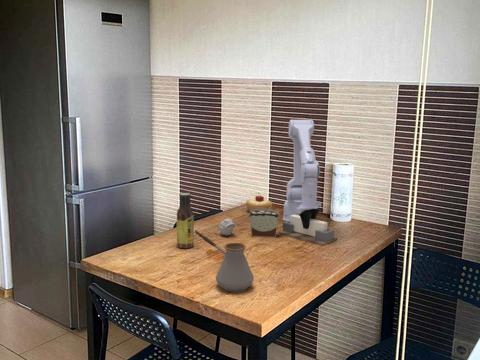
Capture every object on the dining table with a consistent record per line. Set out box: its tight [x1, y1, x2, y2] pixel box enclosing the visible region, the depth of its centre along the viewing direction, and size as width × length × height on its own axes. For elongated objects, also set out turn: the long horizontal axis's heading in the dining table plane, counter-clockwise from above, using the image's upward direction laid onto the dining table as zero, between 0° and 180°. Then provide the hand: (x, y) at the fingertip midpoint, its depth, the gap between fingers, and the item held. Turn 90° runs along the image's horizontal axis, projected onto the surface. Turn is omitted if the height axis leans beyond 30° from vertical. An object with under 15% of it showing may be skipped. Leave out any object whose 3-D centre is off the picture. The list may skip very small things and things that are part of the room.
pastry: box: [245, 192, 273, 213], centre depth 244 cm, size 12×12×9 cm
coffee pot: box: [192, 230, 255, 293], centre depth 162 cm, size 21×12×15 cm, turn 56°
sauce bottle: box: [176, 192, 195, 249], centre depth 195 cm, size 7×6×20 cm
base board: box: [278, 230, 338, 246], centre depth 209 cm, size 21×10×1 cm, turn 48°
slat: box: [290, 215, 328, 237], centre depth 208 cm, size 16×2×6 cm, turn 48°
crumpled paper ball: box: [218, 218, 236, 236], centre depth 209 cm, size 6×7×7 cm
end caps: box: [282, 220, 335, 242], centre depth 209 cm, size 20×6×4 cm, turn 48°
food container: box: [247, 208, 281, 239], centre depth 210 cm, size 12×6×10 cm, turn 84°
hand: (308, 227), depth 209 cm, fingers closed on slat, 2 cm apart
